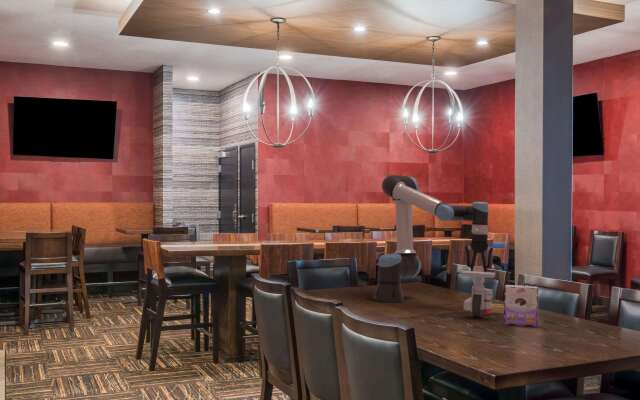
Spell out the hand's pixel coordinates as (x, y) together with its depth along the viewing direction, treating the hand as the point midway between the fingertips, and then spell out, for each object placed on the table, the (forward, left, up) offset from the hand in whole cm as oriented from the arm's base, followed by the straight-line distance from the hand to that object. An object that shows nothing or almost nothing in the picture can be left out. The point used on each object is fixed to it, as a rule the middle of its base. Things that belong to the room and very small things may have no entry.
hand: (478, 282), depth 333 cm
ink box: (+4, -13, -13) cm, 19 cm away
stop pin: (0, 0, -5) cm, 5 cm away
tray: (0, 0, -13) cm, 13 cm away
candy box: (+24, -34, -13) cm, 44 cm away
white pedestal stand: (+4, -24, -13) cm, 28 cm away
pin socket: (+10, -2, -13) cm, 17 cm away
